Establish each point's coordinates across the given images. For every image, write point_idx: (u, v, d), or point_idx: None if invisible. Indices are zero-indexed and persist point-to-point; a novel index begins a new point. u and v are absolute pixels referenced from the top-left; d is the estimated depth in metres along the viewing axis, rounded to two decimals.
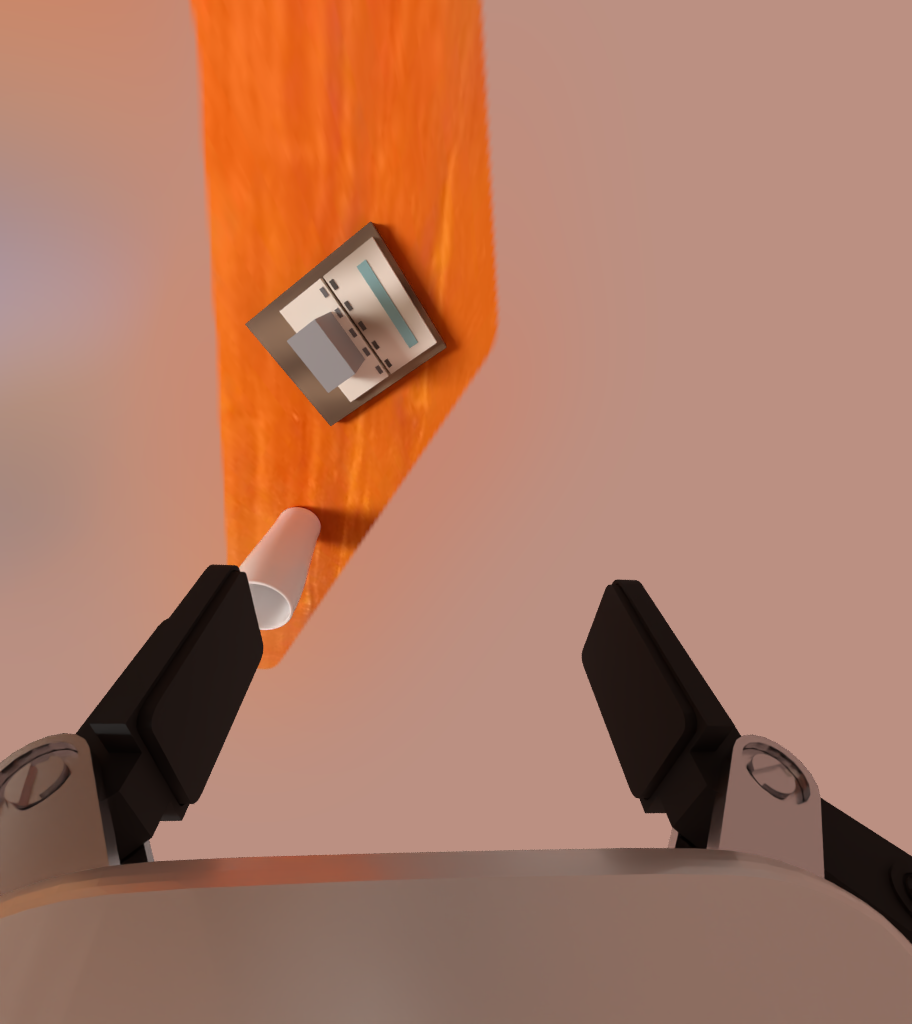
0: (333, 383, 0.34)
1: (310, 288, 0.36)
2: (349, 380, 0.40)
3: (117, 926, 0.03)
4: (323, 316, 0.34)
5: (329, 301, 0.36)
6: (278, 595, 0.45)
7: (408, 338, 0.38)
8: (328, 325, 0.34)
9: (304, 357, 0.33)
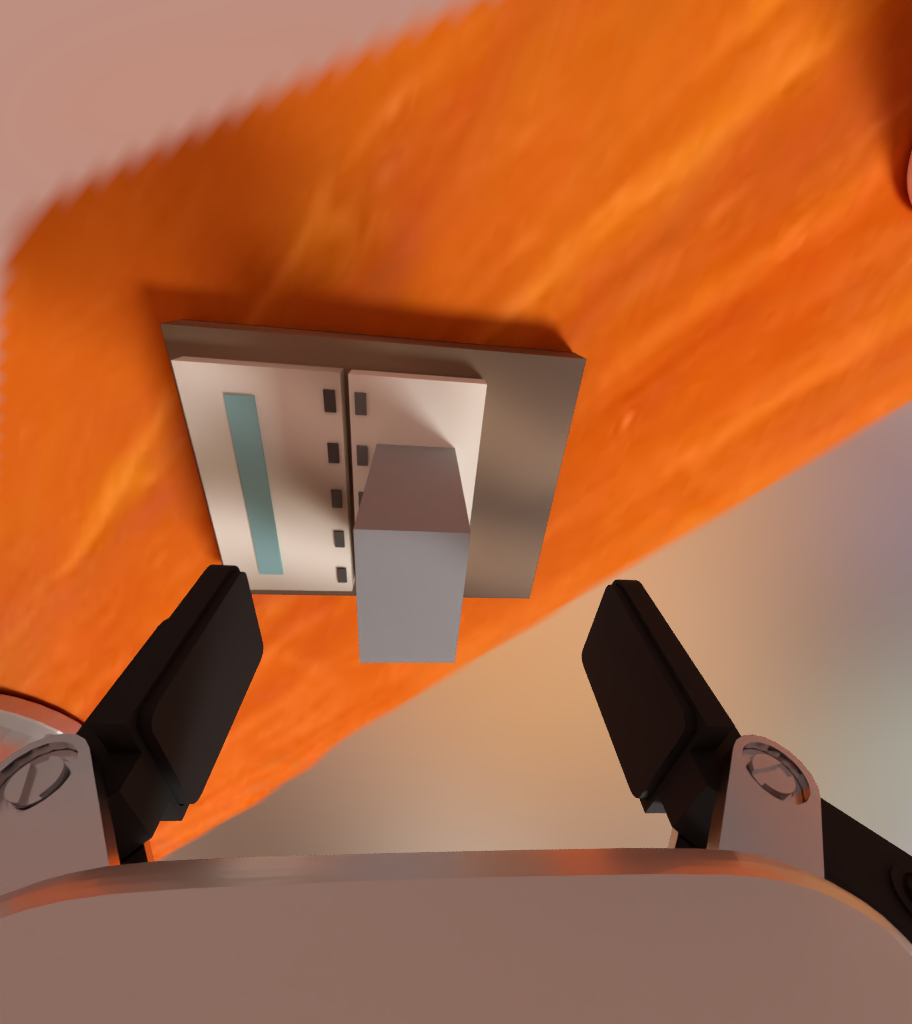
0: (433, 543, 0.10)
1: None
2: (446, 429, 0.15)
3: (117, 926, 0.03)
4: None
5: None
6: None
7: (244, 416, 0.14)
8: None
9: (448, 623, 0.12)
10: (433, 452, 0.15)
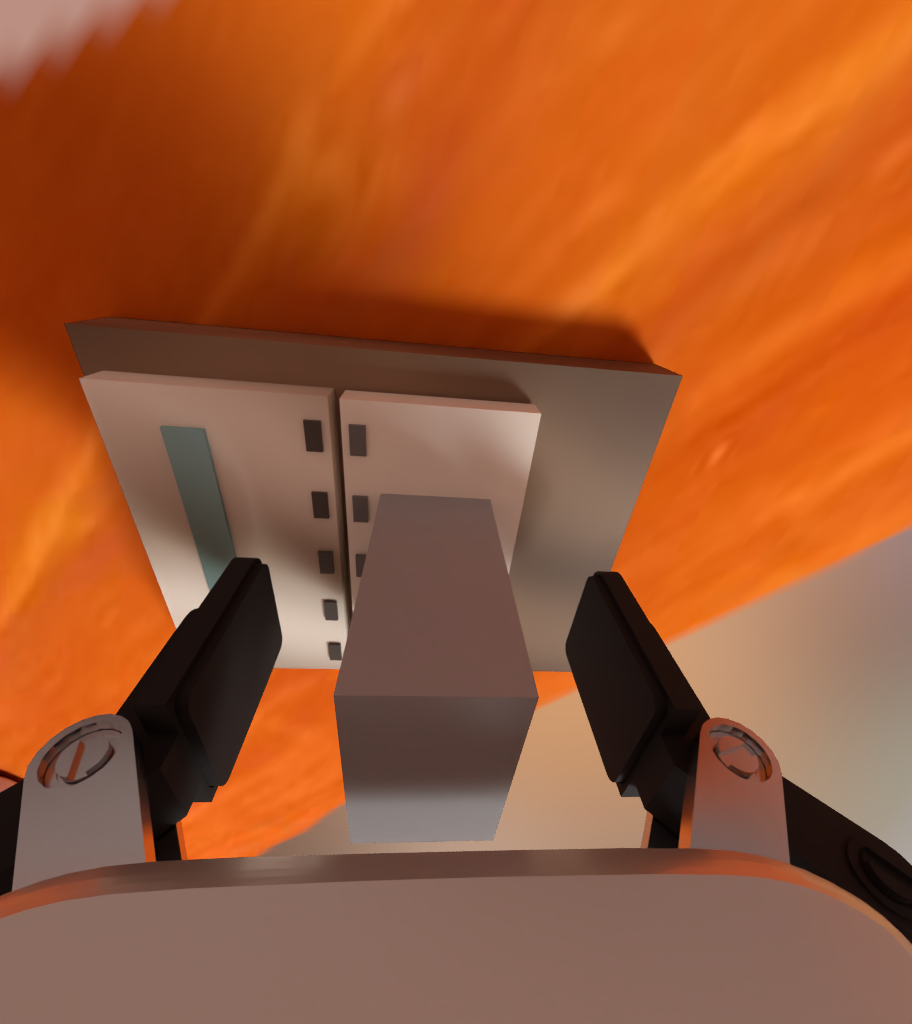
0: (472, 711, 0.06)
1: None
2: (479, 474, 0.11)
3: (117, 926, 0.03)
4: None
5: None
6: None
7: (192, 456, 0.10)
8: None
9: (488, 801, 0.08)
10: (461, 507, 0.11)
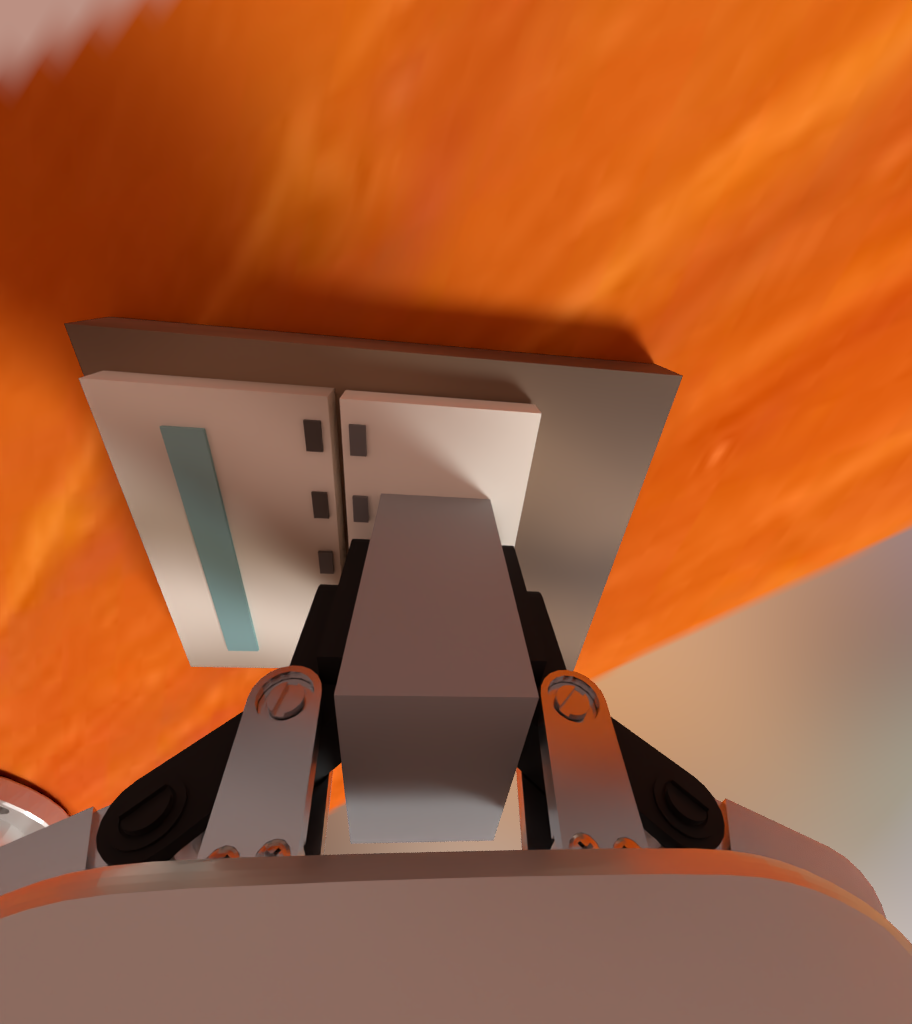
0: (472, 711, 0.06)
1: None
2: (479, 474, 0.11)
3: (117, 927, 0.03)
4: None
5: None
6: None
7: (192, 456, 0.10)
8: None
9: (488, 801, 0.08)
10: (461, 507, 0.11)
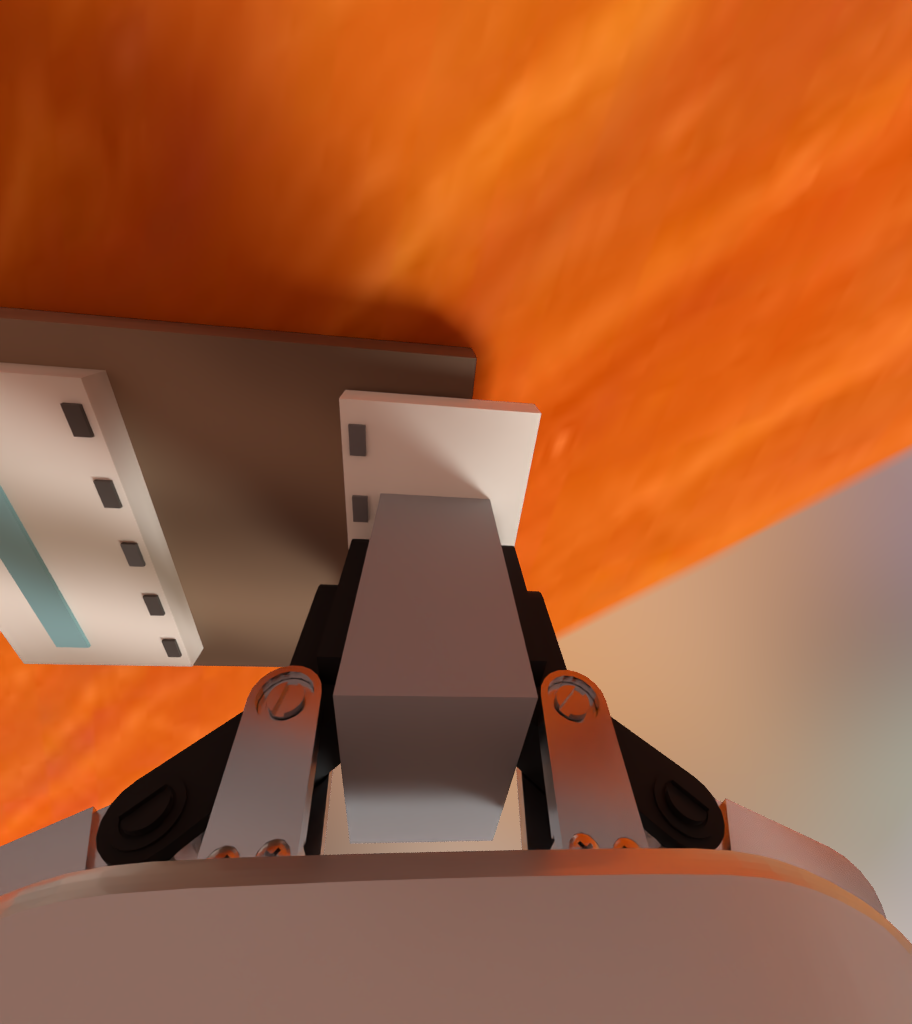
0: (471, 711, 0.06)
1: None
2: (479, 474, 0.11)
3: (117, 926, 0.03)
4: None
5: None
6: None
7: None
8: None
9: (487, 801, 0.08)
10: (461, 507, 0.11)
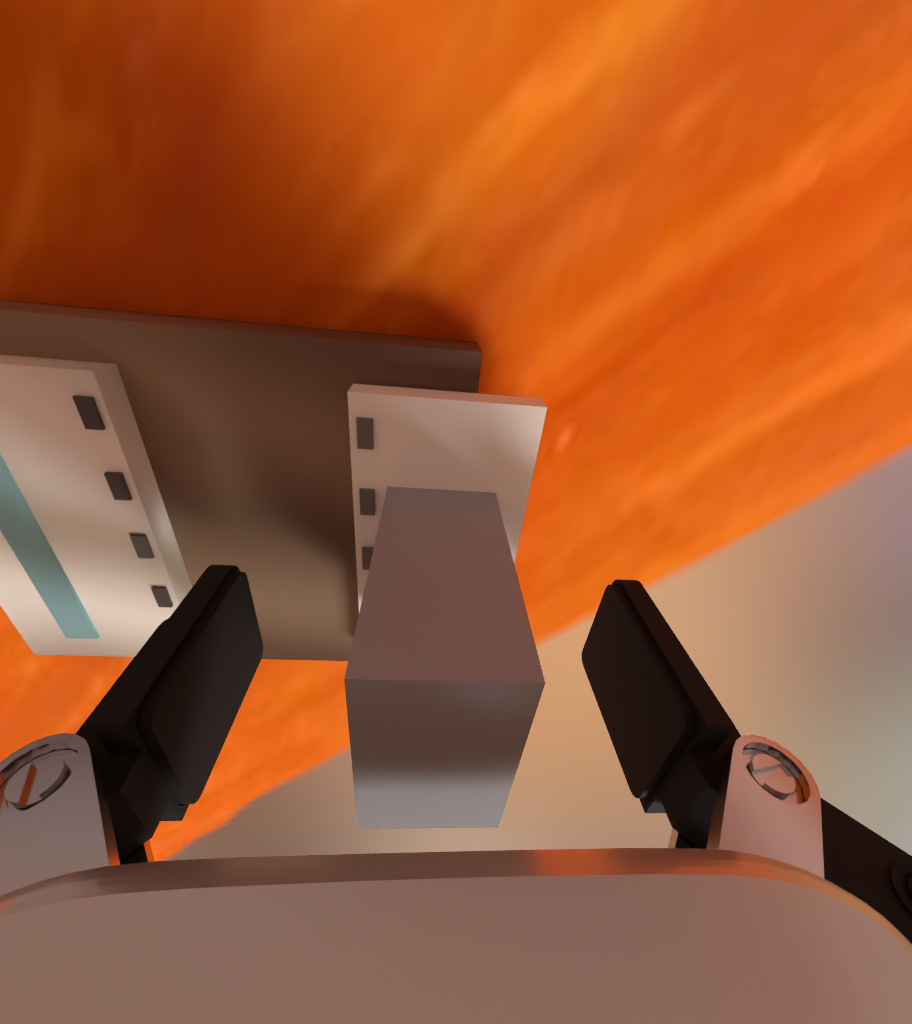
0: (479, 696, 0.06)
1: None
2: (485, 467, 0.11)
3: (118, 926, 0.03)
4: None
5: None
6: None
7: None
8: None
9: (493, 788, 0.08)
10: (467, 500, 0.11)
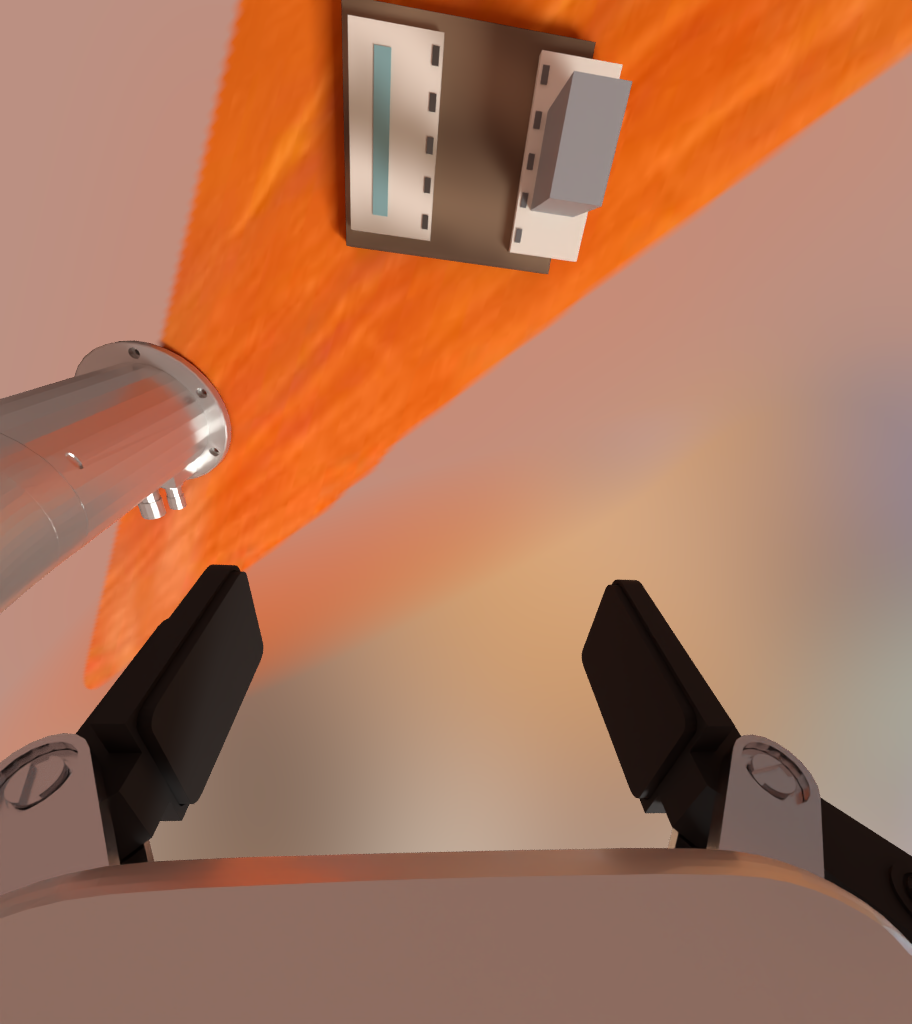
0: (611, 88, 0.20)
1: (527, 252, 0.29)
2: None
3: (117, 927, 0.03)
4: (540, 201, 0.25)
5: (521, 222, 0.28)
6: None
7: (383, 65, 0.24)
8: (544, 185, 0.24)
9: (605, 165, 0.22)
10: None
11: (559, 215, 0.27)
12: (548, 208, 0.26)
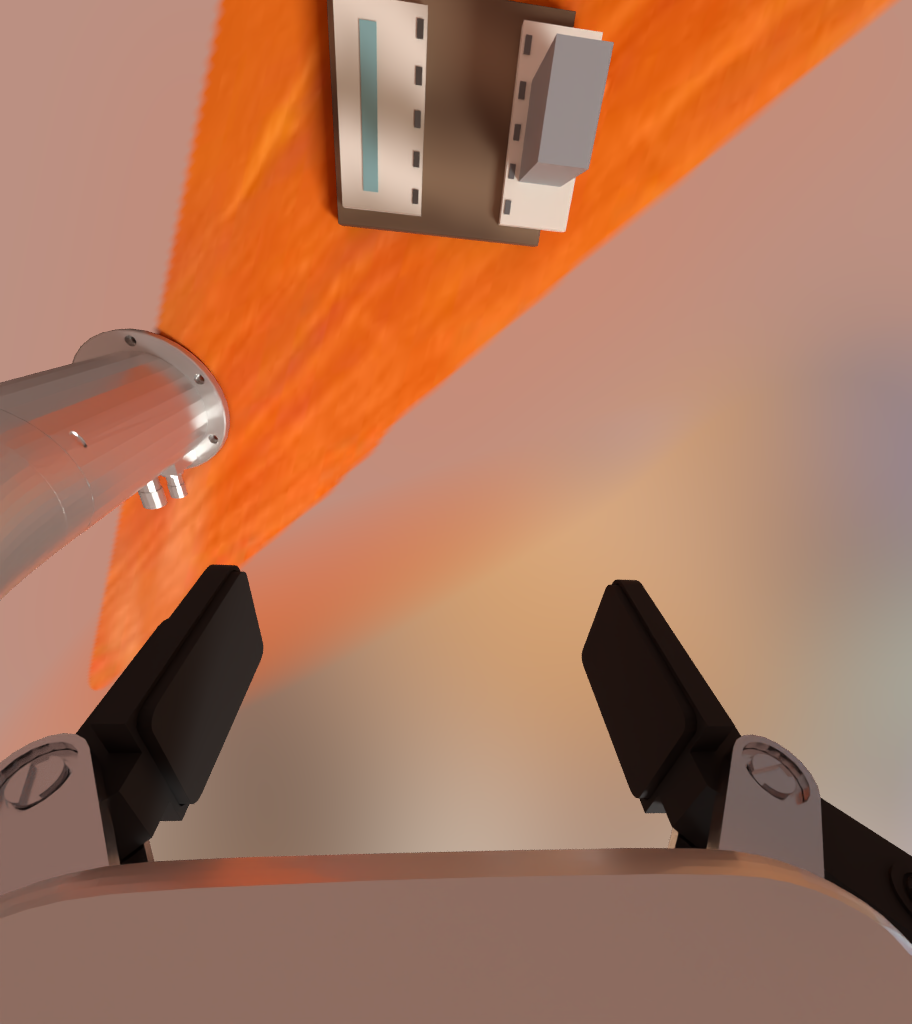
0: (593, 49, 0.21)
1: (516, 223, 0.29)
2: None
3: (117, 926, 0.03)
4: (528, 169, 0.25)
5: (510, 193, 0.28)
6: None
7: (368, 40, 0.24)
8: (531, 152, 0.24)
9: (590, 128, 0.22)
10: None
11: (547, 185, 0.28)
12: (536, 177, 0.26)
